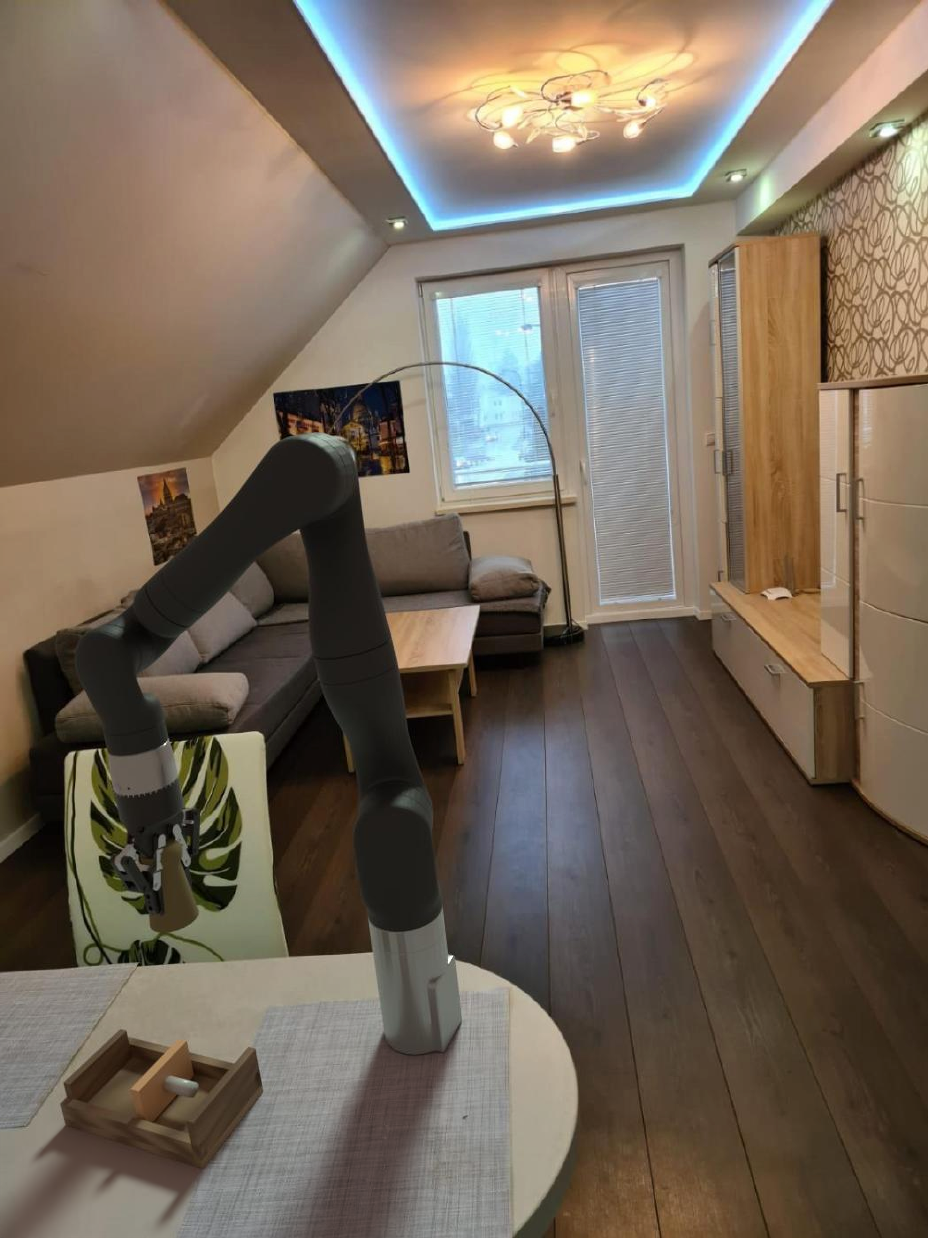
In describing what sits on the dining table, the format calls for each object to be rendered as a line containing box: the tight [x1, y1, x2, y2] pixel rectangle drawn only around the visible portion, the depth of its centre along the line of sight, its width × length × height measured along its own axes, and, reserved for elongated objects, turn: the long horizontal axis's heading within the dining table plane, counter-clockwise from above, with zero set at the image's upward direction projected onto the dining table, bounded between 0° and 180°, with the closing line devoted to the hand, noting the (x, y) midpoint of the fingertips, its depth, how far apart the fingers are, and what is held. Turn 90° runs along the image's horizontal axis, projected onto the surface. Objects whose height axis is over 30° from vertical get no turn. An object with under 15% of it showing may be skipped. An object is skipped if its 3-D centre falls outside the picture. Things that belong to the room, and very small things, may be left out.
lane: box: [59, 1028, 264, 1169], centre depth 98 cm, size 20×11×6 cm, turn 68°
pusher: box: [131, 1038, 198, 1122], centre depth 97 cm, size 5×8×5 cm, turn 158°
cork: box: [140, 839, 200, 934], centre depth 106 cm, size 6×6×11 cm
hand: (171, 902), depth 107 cm, fingers closed on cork, 4 cm apart
